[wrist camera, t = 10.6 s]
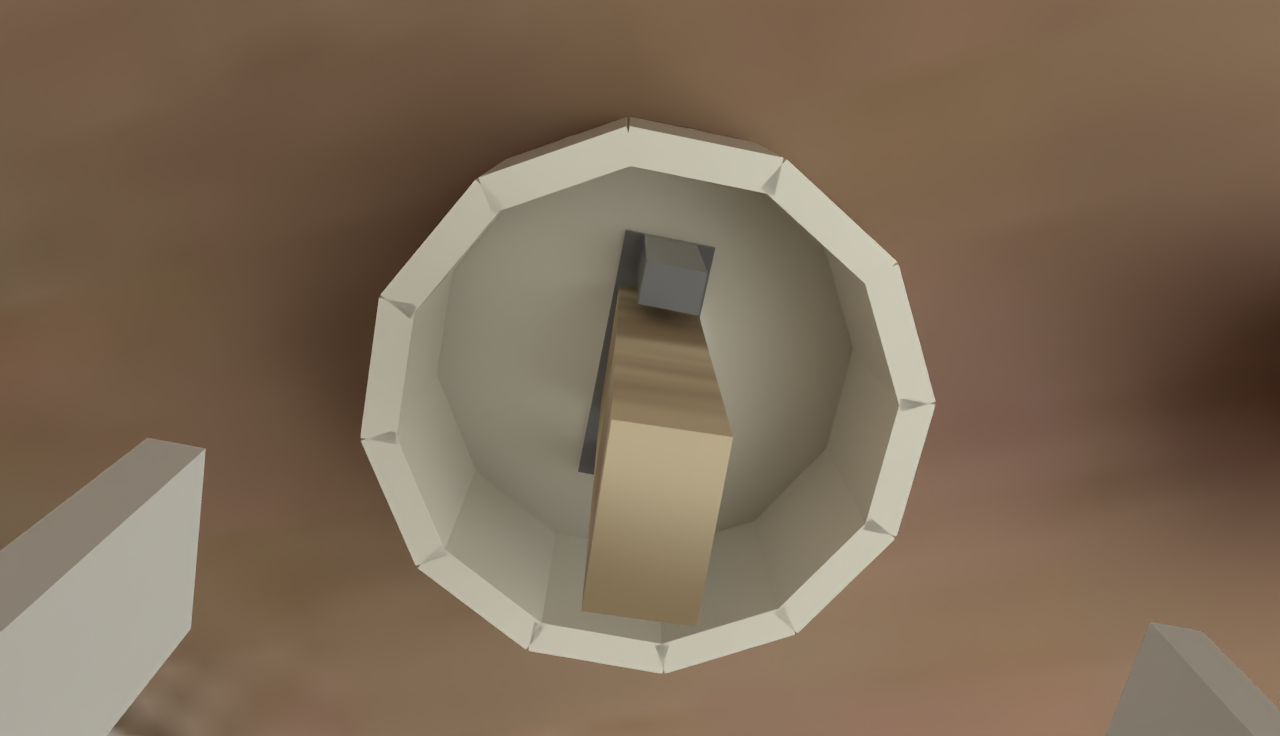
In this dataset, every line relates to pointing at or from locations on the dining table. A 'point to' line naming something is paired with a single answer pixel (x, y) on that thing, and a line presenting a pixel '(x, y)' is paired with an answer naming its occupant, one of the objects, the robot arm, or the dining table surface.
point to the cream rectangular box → (655, 468)
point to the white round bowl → (575, 372)
